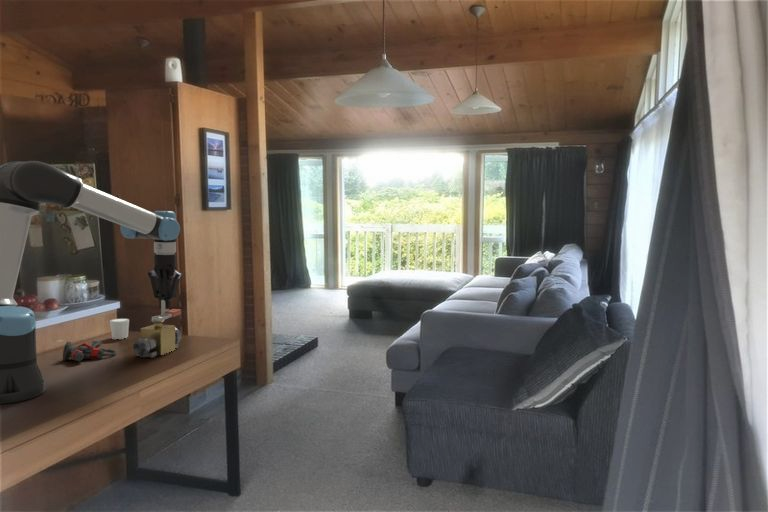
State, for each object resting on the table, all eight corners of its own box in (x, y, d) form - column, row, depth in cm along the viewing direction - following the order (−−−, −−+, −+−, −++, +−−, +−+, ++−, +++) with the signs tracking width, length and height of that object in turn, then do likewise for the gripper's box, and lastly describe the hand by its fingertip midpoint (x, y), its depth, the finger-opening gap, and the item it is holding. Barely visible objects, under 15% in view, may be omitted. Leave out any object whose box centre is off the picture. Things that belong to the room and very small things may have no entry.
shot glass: (133, 336, 218) (132, 318, 217) (123, 340, 211) (122, 322, 210) (116, 335, 218) (116, 317, 218) (106, 339, 211) (105, 321, 211)
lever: (160, 323, 192) (160, 317, 192) (149, 322, 192) (149, 317, 192) (182, 314, 208) (182, 309, 208) (172, 313, 208) (171, 308, 208)
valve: (107, 370, 181) (56, 365, 177) (124, 352, 206) (80, 348, 202) (110, 350, 181) (59, 345, 177) (126, 335, 206) (82, 331, 202)
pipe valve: (151, 359, 185) (150, 328, 184) (131, 357, 187) (130, 326, 186) (183, 346, 203) (183, 318, 202) (164, 345, 205) (164, 316, 204)
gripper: (142, 253, 199) (143, 318, 202) (174, 255, 197) (174, 320, 199) (155, 251, 207) (155, 314, 209) (186, 253, 204) (186, 316, 206)
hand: (165, 317), depth 204 cm, fingers closed
